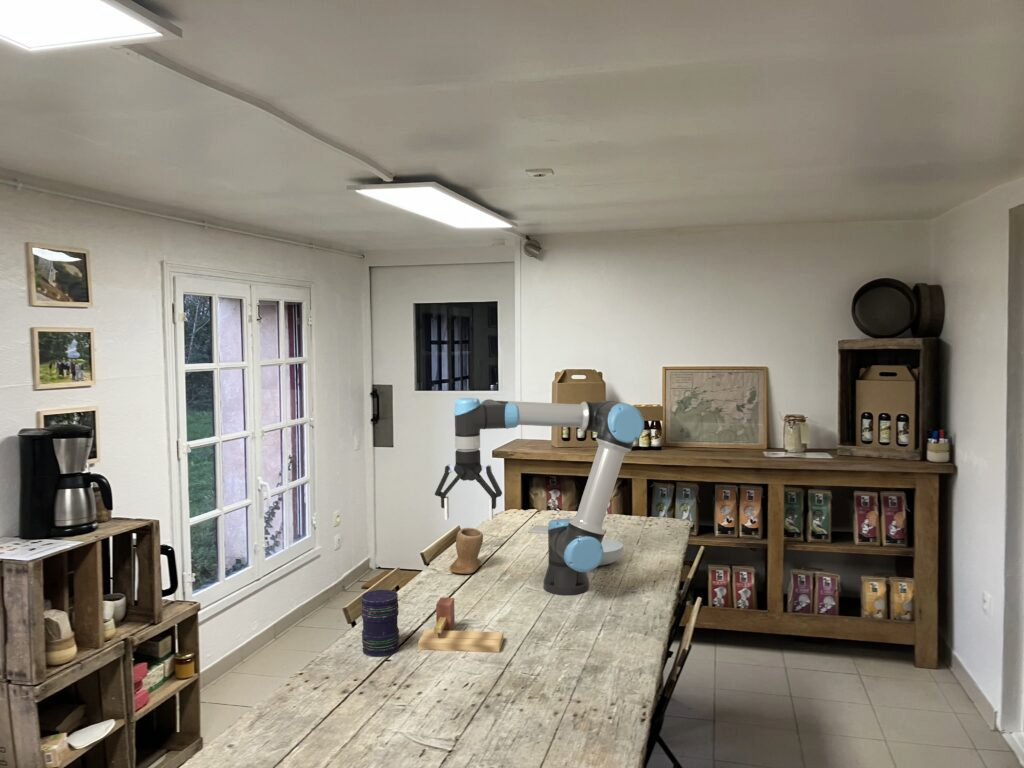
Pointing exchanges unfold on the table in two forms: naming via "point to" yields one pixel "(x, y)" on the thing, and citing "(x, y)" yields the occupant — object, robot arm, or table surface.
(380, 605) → the storage jar
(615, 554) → the serving bowl
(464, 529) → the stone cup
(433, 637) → the board
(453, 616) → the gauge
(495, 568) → the table surface
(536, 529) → the baseboard
